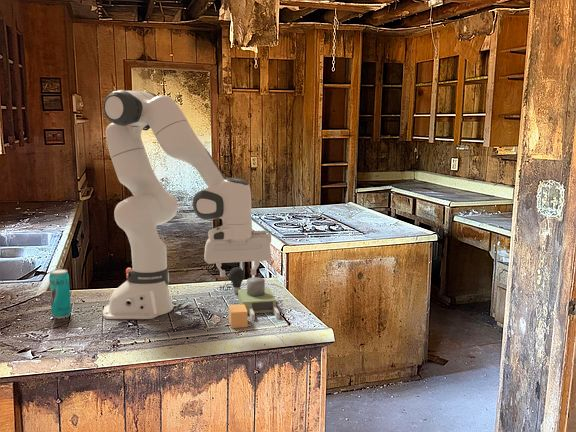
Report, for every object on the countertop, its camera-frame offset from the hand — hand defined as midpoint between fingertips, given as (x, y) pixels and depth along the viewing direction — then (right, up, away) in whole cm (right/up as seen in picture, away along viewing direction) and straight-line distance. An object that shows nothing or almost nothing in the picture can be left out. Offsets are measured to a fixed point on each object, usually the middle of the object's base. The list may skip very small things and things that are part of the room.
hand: (238, 275), depth 165 cm
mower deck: (+5, -13, +15) cm, 21 cm away
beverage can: (-58, -14, +8) cm, 60 cm away
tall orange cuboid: (0, -15, +2) cm, 16 cm away
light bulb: (-3, -10, +32) cm, 34 cm away
